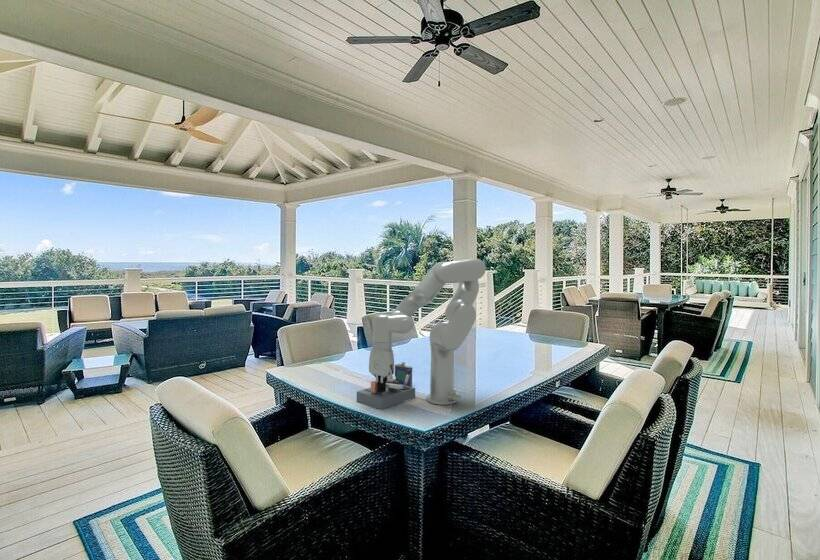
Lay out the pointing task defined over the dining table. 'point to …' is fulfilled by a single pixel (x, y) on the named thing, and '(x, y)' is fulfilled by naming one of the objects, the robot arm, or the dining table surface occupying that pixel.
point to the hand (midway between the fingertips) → (381, 391)
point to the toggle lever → (407, 377)
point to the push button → (391, 380)
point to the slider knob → (374, 386)
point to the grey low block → (386, 396)
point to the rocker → (393, 385)
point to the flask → (403, 374)
